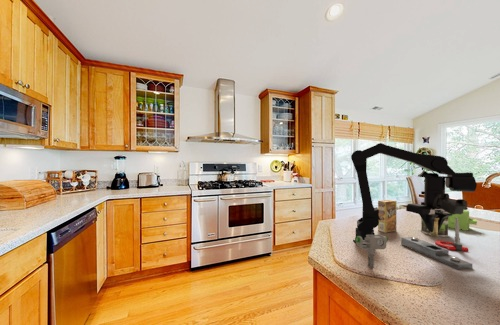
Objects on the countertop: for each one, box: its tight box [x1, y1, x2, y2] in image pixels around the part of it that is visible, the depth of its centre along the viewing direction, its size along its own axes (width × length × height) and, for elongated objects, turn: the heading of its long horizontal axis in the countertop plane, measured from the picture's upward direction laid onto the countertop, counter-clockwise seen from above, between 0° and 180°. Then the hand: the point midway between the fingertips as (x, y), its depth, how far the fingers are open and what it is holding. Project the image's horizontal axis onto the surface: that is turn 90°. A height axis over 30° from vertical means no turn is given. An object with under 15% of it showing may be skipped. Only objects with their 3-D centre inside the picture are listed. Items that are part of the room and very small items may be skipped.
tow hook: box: [434, 218, 469, 252], centre depth 85 cm, size 8×13×9 cm
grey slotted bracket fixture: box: [400, 236, 473, 270], centre depth 76 cm, size 6×21×4 cm, turn 9°
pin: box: [430, 217, 439, 238], centre depth 76 cm, size 3×3×7 cm
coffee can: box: [420, 208, 449, 238], centre depth 102 cm, size 10×10×14 cm
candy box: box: [377, 199, 398, 234], centre depth 104 cm, size 9×4×15 cm, turn 114°
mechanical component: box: [354, 234, 389, 269], centre depth 67 cm, size 3×10×10 cm, turn 95°
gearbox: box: [448, 209, 478, 231], centre depth 113 cm, size 18×10×10 cm, turn 40°
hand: (433, 231), depth 76 cm, fingers closed on pin, 2 cm apart
